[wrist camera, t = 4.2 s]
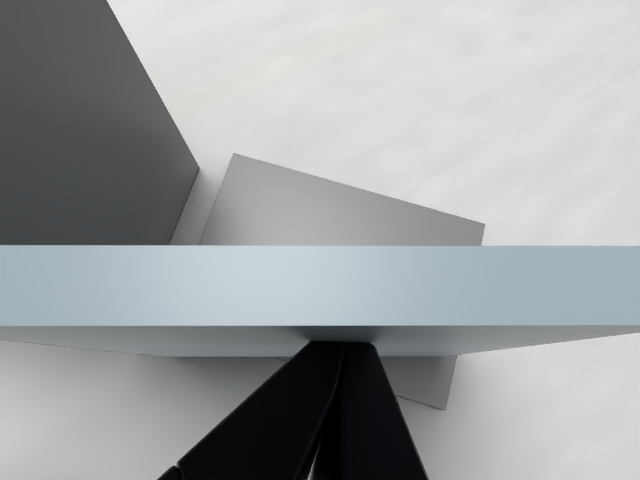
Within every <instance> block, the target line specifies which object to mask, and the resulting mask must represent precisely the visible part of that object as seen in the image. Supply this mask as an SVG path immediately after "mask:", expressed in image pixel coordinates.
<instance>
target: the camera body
mask: <svg viewBox="0 0 640 480" xmlns="http://www.w3.org/2000/svg"><path fill="white" fill-rule="evenodd" d="M198 169H199V166H198V164H197V162H196V161H195V159H194V157H193V155H192V153H191V152H190V150H189V148H188V146H187V144H186V143H185V141H184V139H183V137H182V135H181V134H180V132H179V130H178V128H177V126H176V125H175V123H174V121H173V119H172V117H171V116H170V114H169V112H168V110H167V108H166V107H165V105H164V103H163V101H162V99H161V98H160V96H159V94H158V92H157V90H156V89H155V87H154V85H153V83H152V81H151V80H150V78H149V76H148V74H147V72H146V71H145V69H144V67H143V65H142V63H141V62H140V60H139V58H138V56H137V54H136V53H135V51H134V49H133V47H132V45H131V44H130V42H129V40H128V38H127V36H126V35H125V33H124V31H123V29H122V27H121V26H120V24H119V22H118V20H117V18H116V17H115V15H114V13H113V11H112V9H111V8H110V6H109V4H108V2H107V0H0V245H169V242H170V240H171V237H172V235H173V232H174V230H175V227H176V225H177V222H178V220H179V217H180V215H181V212H182V210H183V207H184V205H185V202H186V200H187V197H188V195H189V192H190V190H191V187H192V185H193V182H194V180H195V177H196V175H197V172H198ZM484 227H485V224H483V223H480V222H476V221H472V220H469V219H465V218H462V217H458V216H455V215H451V214H448V213H444V212H441V211H437V210H433V209H430V208H426V207H423V206H419V205H416V204H412V203H409V202H405V201H402V200H398V199H395V198H391V197H387V196H384V195H380V194H377V193H373V192H370V191H366V190H363V189H359V188H356V187H352V186H349V185H345V184H341V183H338V182H334V181H331V180H327V179H324V178H320V177H317V176H313V175H310V174H306V173H302V172H299V171H295V170H292V169H288V168H285V167H281V166H278V165H274V164H271V163H267V162H264V161H260V160H256V159H253V158H249V157H246V156H242V155H239V154H235V153H233V156H232V158H231V161H230V164H229V166H228V169H227V171H226V174H225V177H224V179H223V182H222V185H221V187H220V190H219V193H218V195H217V198H216V200H215V203H214V206H213V208H212V211H211V214H210V216H209V219H208V222H207V224H206V227H205V229H204V232H203V235H202V237H201V240H200V243H199V245H211V246H480V245H481V241H482V236H483V231H484ZM379 357H380V359H381V362H382V364H383V367H384V369H385V372H386V374H387V377H388V379H389V382H390V384H391V387H392V389H393V392H394V394H395V395H397V396H400V397H404V398H407V399H410V400H413V401H417V402H420V403H423V404H426V405H430V406H433V407H436V408H439V409H443V410H445V408H446V404H447V399H448V394H449V390H450V385H451V380H452V376H453V371H454V367H455V362H456V357H457V355H451V356H379ZM274 358H278V359H281V360H284V361H289V360H290V359H291V358H292V357H274Z"/></svg>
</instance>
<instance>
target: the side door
mask: <svg viewBox="0 0 640 480" xmlns="http://www.w3.org/2000/svg"><path fill="white" fill-rule="evenodd" d="M639 332H640V246H211V245H0V340H8V341H18V342H27V343H37V344H47V345H56V346H66V347H75V348H85V349H94V350H104V351H113V352H123V353H132V354H142V355H151V356H161V357H293V356H294V355H295V354H296V353H297V352H298V351H299V350H301V349H302V348H303V347H304V346H305V345H306V344H307V343H308V342H309V341H339V342H347V343H348V342H368V343H371V344H373V345H374V346H375V347H376V349H377V352H378V354H379V356H451V355H459V354H468V353H476V352H484V351H492V350H500V349H508V348H516V347H525V346H533V345H541V344H549V343H557V342H565V341H574V340H582V339H590V338H598V337H606V336H614V335H622V334H631V333H639Z"/></svg>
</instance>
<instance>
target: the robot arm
mask: <svg viewBox="0 0 640 480" xmlns="http://www.w3.org/2000/svg"><path fill="white" fill-rule="evenodd" d="M314 458H315V459H314ZM313 461H314V463H313ZM312 464H313V468H312V472H311V477H310V480H429V479H428V476H427V474H426V471H425V469H424V466H423V464H422V461H421V459H420V456H419V454H418V451H417V449H416V446H415V444H414V441H413V439H412V436H411V434H410V431H409V429H408V426H407V424H406V421H405V419H404V416H403V414H402V411H401V409H400V406H399V404H398V401H397V399H396V397H395V394H394V392H393V389H392V387H391V384H390V382H389V379H388V377H387V374H386V372H385V369H384V367H383V364H382V362H381V359H380V357H379V354H378V352H377V349H376V347H375V346H374V345H373V344H371V343H368V342H348V343H347V342H339V341H309V342H308V343H307V344H306V345H305V346H304V347H303V348H302V349H301V350H299V351H298V352H297V353H296V354H295V355H294V356H293V357H292V358H291V359H290V360H289V361H287V362H286V363H285V364H284V365H283V366H282V367H281V368H280V369H279V370H278V371H276V372H275V373H274V374H273V375H272V376H271V377H270V378H269V379H268V380H267V381H265V382H264V383H263V384H262V385H261V386H260V387H259V388H258V389H257V390H256V391H254V392H253V393H252V394H251V395H250V396H249V397H248V398H247V399H246V400H245V401H243V402H242V403H241V404H240V405H239V406H238V407H237V408H236V409H235V410H234V411H232V412H231V413H230V414H229V415H228V416H227V417H226V418H225V419H224V420H223V421H221V422H220V423H219V424H218V425H217V426H216V427H215V428H214V429H213V430H212V431H210V432H209V433H208V434H207V435H206V436H205V437H204V438H203V439H202V440H201V441H199V442H198V443H197V444H196V445H195V446H194V447H193V448H192V449H191V450H190V451H188V452H187V453H186V454H185V455H184V456H183V457H182V458H181V459H180V460H179V461H178V462H177V466H172V467H170V468H169V469H168V470H167V471H166V472H165V473H164V474H163V475H162V476H161V477H159V478H158V479H157V480H307V479H308V476H309V473H310V470H311V467H312Z"/></svg>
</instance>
